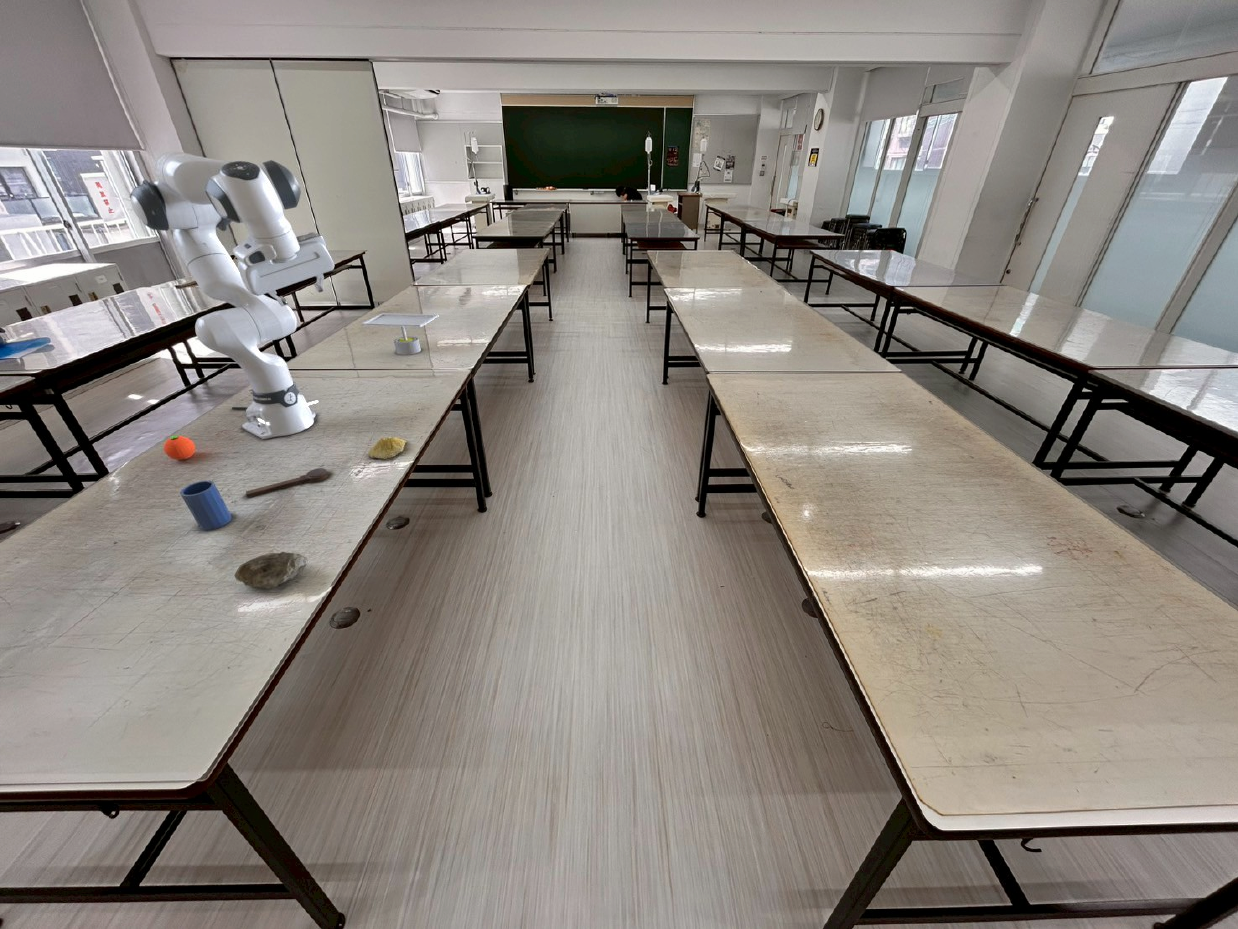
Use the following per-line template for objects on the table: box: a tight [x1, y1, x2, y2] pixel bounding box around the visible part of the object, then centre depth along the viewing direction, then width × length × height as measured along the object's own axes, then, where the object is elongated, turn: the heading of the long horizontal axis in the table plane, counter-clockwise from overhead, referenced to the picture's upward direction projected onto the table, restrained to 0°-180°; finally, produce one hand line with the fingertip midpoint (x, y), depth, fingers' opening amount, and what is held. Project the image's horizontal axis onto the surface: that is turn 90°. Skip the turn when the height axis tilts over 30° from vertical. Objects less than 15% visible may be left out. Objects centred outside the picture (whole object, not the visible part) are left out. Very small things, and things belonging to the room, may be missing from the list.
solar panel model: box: [360, 312, 440, 356], centre depth 224 cm, size 28×17×15 cm, turn 82°
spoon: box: [245, 467, 329, 498], centre depth 134 cm, size 19×5×2 cm, turn 122°
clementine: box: [163, 435, 196, 461], centre depth 145 cm, size 8×7×7 cm
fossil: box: [368, 436, 407, 460], centre depth 148 cm, size 11×6×10 cm
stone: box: [233, 551, 309, 590], centre depth 102 cm, size 13×8×8 cm
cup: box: [179, 480, 233, 531], centre depth 118 cm, size 6×6×10 cm
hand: (302, 297), depth 125 cm, fingers open, 8 cm apart
